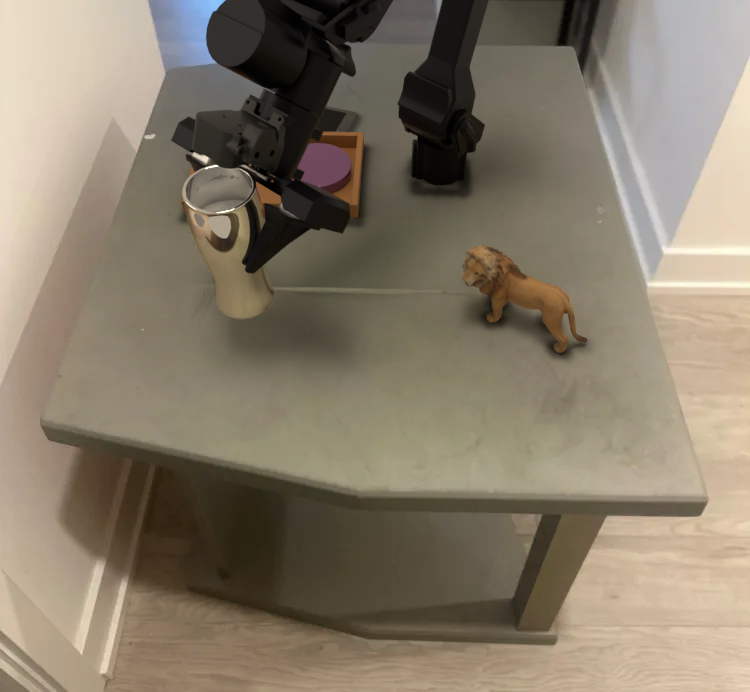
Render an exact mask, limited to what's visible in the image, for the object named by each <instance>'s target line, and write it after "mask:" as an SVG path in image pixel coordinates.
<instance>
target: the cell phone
mask: <svg viewBox="0 0 750 692" xmlns="http://www.w3.org/2000/svg"><path fill="white" fill-rule="evenodd" d="M310 113H312V114H314V115H316V116H318V115H317V114H315V113H313V112H311V111H310ZM357 116H358V114H357V113H356V112H355V111H352V110H347V109H342V108H336V107H332V106H327V105H326V107H325V109H324V112H323V114H322V116H321V117H320V116H318V117H320V120H319V122H318V125H317V127H316V128H317V129H319V130H321V131H323V132H349V130H350V128H352V127H351V126H352V125H353V124H354V122H355V120H356V119H357Z"/></svg>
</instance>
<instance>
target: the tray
mask: <svg viewBox="0 0 750 692" xmlns="http://www.w3.org/2000/svg"><path fill="white" fill-rule="evenodd" d="M311 143H325V144H331V145H334V146H337V147H339V148H341V149H342V150H344V151H345V152H346V153H347V154H348V156H349V157H350V159H351V170H352V174H351V178H350V180H349V182H348V183H347V184H346V185H345V186H344V187H343V188H342V189H340V190H338V191H336V192H334V193H332V194H334V195H335V196H337V197H339V198H341V199H342V200H344V201H346V202H347V203H349V206H350V219H358V218H359V213H360V211H359V209H360V198H361V186H362V175H363V174H362V173H363V161H364V149H365V133H364V132H363V131H361V132H359V131H348V132H323V134H322V136H321V138H320V140H319V141H316V140H314V139H312V138H311V140H310V142H309V144H311ZM249 166H251V165H250V164H249ZM193 173H195V172H194V170H193V167H192V166H191V169H190V171H189V174H188V177H187V179H188V178H189V177H190V176H191V175H192V174H193ZM274 177H275V176H274ZM272 182H273V180H272ZM256 186H257V189H258V192H259V196H260V199H261V203H262V207H263V211H264V216H265V210H264V203H267V204H271V205H274V206H278V207H279V204H280V202H281V196H279V195H278V194H276V193H274V192H273V191H271V190H269V189H268V188H266V187H264V186H263V185H261V184H259V183H258V182H256ZM180 202H181V206H182V210H183V213H184V215H186V209H185V203H184V199H183V196H182V197H181V201H180Z"/></svg>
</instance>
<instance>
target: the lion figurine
mask: <svg viewBox="0 0 750 692" xmlns="http://www.w3.org/2000/svg"><path fill="white" fill-rule="evenodd" d="M461 267H462V270H463V274H462V276H461V280H462V281H463V282H464V285H465V286H466V287H467V288H471V287H474V288H478V291H479V293H481V294H483V296H487V297H488V298H491V299H490V300H491V306H492V312H489V313H487V314H486V320H487V321H488V323H496V322H498V321H499V320H500V318H502V316H503V315H502V312H503V311H502V310H503V309H504V307H505V306H506V305H507V303H508V302H510V303H511V304H513V305H515V306H517V307H520V308H523V309H525V310H532V311H534V310H538V311H540V313H541V316H542V323H543V324H544V325H545V327H546V328H547V329H548V331H549V332H550V333H551V335H553V336H554V337H555V339H557V341H558V342H555V343H554V344H553V350H554V351H555V352H556V353H559V354H562V353H564V352H565V351H566V350H567V348H568V345H569V337H568V336H567V334H566V333H565V331H564V330H563V326H562V321H563V318H564V315H567V318H568V323H569V327H570V328H569V329H570V332H571V335H572V337H573V338H574V339H575V340H576V341H577V342H579V343H580V344H586V343H588V338H587V337H586V336H582V335H581V334H578V333H577V329H576V318H575V311H574V308H573V306H572V304H571V301H570V297H569V295H568V294H567V292H566V291H564V290H563V289H562V288H561V287H560V286H558V285H556V284H551V283H548V282H544V281H541V280H539V279H537V278H534V277H532V276H530V275H528V274H526V273H524V272H522V271H521V269H520V268H519V265H517V264H515V262H514V260H513V259H512V258H511V257H510V256H508V255H507V254H505V253H504V252H503V251H500V250H498V249H497V248H494V247H492V246H489V245H485V244H482V245H480V244H479V245H476V246H473V247H472V248H470V249H467V250H465V256H464V259H463V262H462V266H461Z"/></svg>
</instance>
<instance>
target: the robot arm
mask: <svg viewBox="0 0 750 692" xmlns="http://www.w3.org/2000/svg"><path fill="white" fill-rule="evenodd" d="M393 2H394V0H224V1H223V2H222V3H221V4H220V5H219V6H218V7H217V9H216V10H213V11H212V13H211V15H210V17H209V19H208V23H207V26H206V33H205V41H206V47H207V51H208V53H209V54H208V55H210V57H211V59H212V60H213V61H214V62H215V63H216V64H217V65H219V66H221V67H223V68H225V69H227V70H229V71H231V72H232V73H234V74H236V75H239V76H240V77H242V78H244V79H245V80H248V81H250V82H252V83H254V84H256V85H258V86H260V87H262V89H261V90H262V91H261V93H260V95H259V97H257V96H255V95H253V94H249V96H248V97H247V98H245V100H244V102H243V104H242V106H241V108H240V109H239V110H233V109H219V110H218V109H217V110H205V111H198V112H196V114H195V118H194V117H192V116H187V117H185V118H184V119H182V120H180V121H179V122H177V125H176V128H175V130H174V133H173V135H172V137H171V140H170V141H171V142H172V143H174V144H176V145H177V146H178V147H180V148H182V149H184V150H186V151H187V152H189V153H191V154H188V153H185V160H186V161H187V162H188V163H190V165H191V167H193V170H194V172H196V171H198V170H200V169H202V168H204V167H207V166H210V165H215V164H216V165H217V166H219V167H222V168H227V169H234V168H237V167H238V166H241V167H243V168H245V169H247V170H248V171H249V172H250V173H251V174H252V175H253V176H254V178H255V180H256V182H258V183H259V184H261V185H263V186H264V187H266V188H268V189H269V190H271V191H273V192H274V193H276V194H278V195H279V196H281V202H280V204H279V207H278V206H274V205H271V204H267V203H264V210H265V223H264V225H263V227H262V229H261V232H260V234H259V236H258V238H257V240H256V242H255V245H254V247H253V249H252V251H251V253H250V256H249V258H248V261H247V264H246V267H245V272H247V273H250V274H253V273H255V272H256V271H257V270H259V269H260V268H261V267H262V266H263V265H264V264H265V265H266V264H267V263H268V262H270V261H271V260H272V259H273V258H274V257H275V256H277V254H279V253H280V252H281V251H282V250H283V249H285V248H286V247H287V246H289V245H290V244H291V243H292V242H294V241H295V240H297V239H299V238H300V237H301V236H302V235H305V234H306V233H307V232H309V231H310V230H314V231H320V230H321V229H324V230H326V231H331V232H334V233H338V234H342V235H343V234H344V232H345V230H346V228H347V226H348V224H349V222H350V220H351V218H350V206H349V203H347V202H346V201H344V200H342V199H341V198H339V197H337V196H335V195H334V194H332V193H330V192H328V191H327V190H325V189H323V188H321V187H318V186H315V185H312V184H310V183H307V182H304V181H301V179H302V177H303V175H304V171H302V170H300V169H299V168H298V166H299V164H300V161H301V159H302V157H303V155H304V153H305V151H306V148H307V146H308V144H309V142H310V140H311V138H312V139H314V140H316V141H319V140H320V138H321V136H322V134H323V131H321V130H319V129H317V128H316V127H317V125H318V122H319V120H320V117H321V116H322V114H323V112H324V109H325V107H326V106H327V105H328V103H329V101H330V99H331V96H332V95H333V92H334V90H335V88H336V86H337V84H338V81H339V79H340V77H341V75H342V74H344V75H347V76H348V77H351V78H354V77H355V76H356V74H357V69H356V68H357V67H356V63H355V62H354V59H353V55H352V46H350V45H349V44H347V43H350V44H354V43H364V42H365V41H367V40H368V39H369V38H370V37H372V35H373V34H374V33H375V31H376V30H377V29H378V28H379V25H380V24H381V22H382V20H383V18H384V17H385V15H386V14H387V12H388V10H389V8H390V7H391V5H392V3H393ZM488 4H489V0H441V4H440V7H439V11H438V15H437V19H436V22H435V26H434V31H433V34H432V39H431V42H430V47H429V51H428V55H427V57H426V59H425V60H424V61H422V63H421V64H420V65H419V66H418V67H417V68H416V69H415V70H414V71H412V70H411V71H410V70H409V71H408V72H407V73H406V74H405V76H404V78H403V83H402V84H403V85H402V91H401V94H400V97H399V99H398V101H397V106H398V119H400V121H401V124H402V125H403V128H404V131H405V132H406V133H408V134H409V133H410V134H412V135H413V136H415V137H416V138H414V139H412V142H411V143H412V145H411V165H410V167H411V168H410V169H411V171H410V173H411V175H410V176H411V177H412V179H413V178H415V179H416V180H422V181H423V182H425V183H427V184H430V185H432V186H443V187H444V186H449V185H452V184H454V183H456V182H458V181H464V180H465V175H466V166H467V158H468V154H473V153H474V152H476V150H477V144H478V143H479V142H481V140H482V137H483V134H484V130H485V128H486V124H485V123H484V122H483V121H481V120H480V119H479V118H477V117H476V116H475V115H474V114H473V109H474V105H475V100H476V94H477V93H476V90H475V89H476V88H475V86H474V85H475V84H474V80H473V77H472V71H471V64H472V60H473V56H474V54H475V50H476V46H477V42H478V39H479V35H480V32H481V29H482V25H483V22H484V17H485V15H486V11H487V8H488ZM310 111H311V112H313V113H315V114H317V115H318V116H320V117H318V116H316V115H314V114H312V113H310ZM249 164H250V165H251V166H249ZM274 176H275V177H274ZM292 179H294V180H292ZM272 180H273V182H272Z"/></svg>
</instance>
